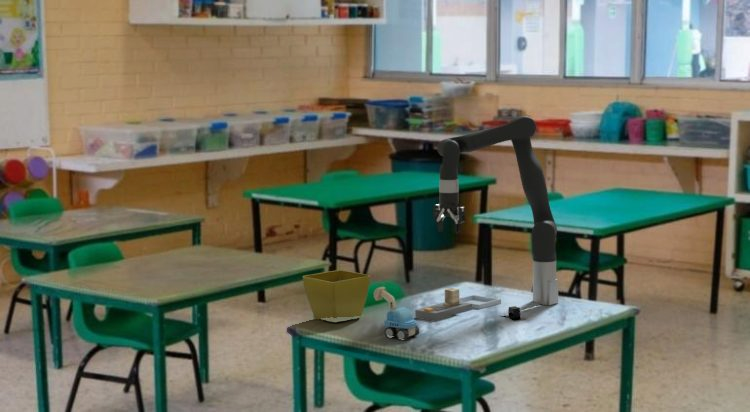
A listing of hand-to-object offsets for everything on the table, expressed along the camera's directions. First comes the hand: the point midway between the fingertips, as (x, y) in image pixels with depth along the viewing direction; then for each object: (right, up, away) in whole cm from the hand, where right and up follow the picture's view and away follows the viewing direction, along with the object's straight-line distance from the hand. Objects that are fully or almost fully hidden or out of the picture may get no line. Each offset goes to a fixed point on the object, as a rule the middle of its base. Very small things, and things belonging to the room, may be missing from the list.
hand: (449, 232), depth 490 cm
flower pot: (-43, -33, -13) cm, 56 cm away
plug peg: (+1, -31, -4) cm, 31 cm away
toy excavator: (-22, -37, -42) cm, 60 cm away
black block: (+24, -33, -16) cm, 43 cm away
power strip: (-3, -32, -8) cm, 33 cm away
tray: (+11, -29, +6) cm, 32 cm away
